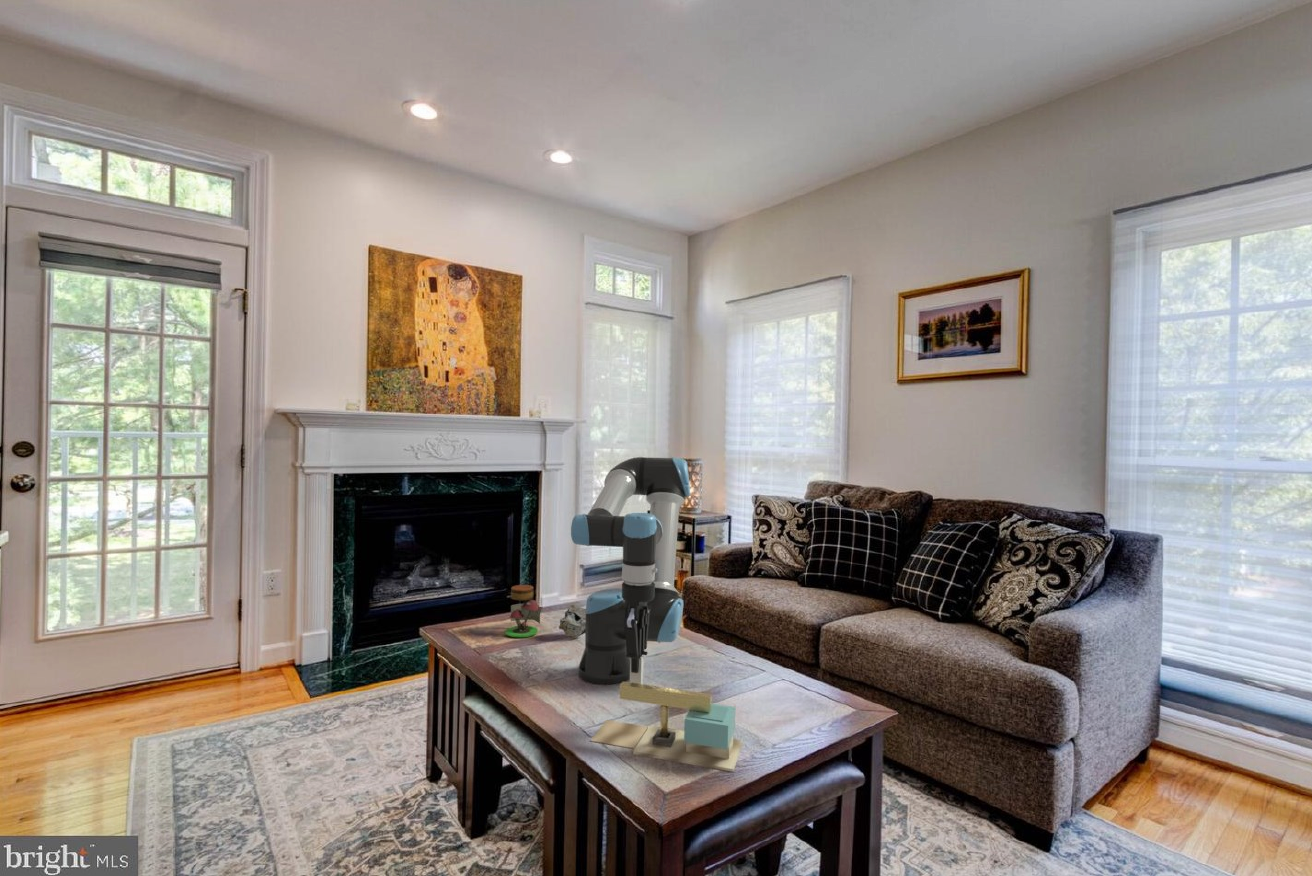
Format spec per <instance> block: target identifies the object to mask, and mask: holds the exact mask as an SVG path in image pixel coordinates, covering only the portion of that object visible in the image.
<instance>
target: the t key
mask: <svg viewBox="0 0 1312 876" xmlns="http://www.w3.org/2000/svg"><path fill="white" fill-rule="evenodd" d="M619 699H621V700H626V701H633V702H638V703H645V704H652V705H659V706H660V727H661V736H660V737H662V738H668V728H669V707H672V708H679V709H683V710H684V709H685V710H697V711H703V712H710V711H711V709H712V704H713V703H712V702H713V693H705V692H700V691H693V690H686V689H680V688H679V689H678V688H670V687H663V686H657V685H649V684H645V683H643V684H637V683H630V681H626V682H624V681H623V682H622V683H620V684H619Z"/></svg>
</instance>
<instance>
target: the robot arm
mask: <svg viewBox="0 0 1312 876" xmlns="http://www.w3.org/2000/svg"><path fill="white" fill-rule="evenodd" d="M689 475H690V474H689V467H688V462H687V461H686V459H684V458H674V457H643V456H639V457H632V458H629V459H626V460H624V461H622V462H620V463H618V464H616V465H615V466H613V467H612V469H610V471H608V473H607V474H606V477H605V478H604V482H603V487H602V490H601V492H600V493H599V495H598V497H597V498H596V500H595V501H594V503H593V505H592V507H591V508H590V510H589V512H588V513H587V514H586V513H583V514H576V515H574V516H573V518H572V521H571V525H570V536H571V540H572V542H573V544H575V545H579V546H587V547H589V546H590V547H594V546H595V547H613V548H614V547H616V548H617V547H618V548H622V563H621V565H622V567H621V569H622V570H621V580H622V581H623V582H622V583H621V587H620V588H618V587H617V588H606V589H601V590H597V591H595V592H592V593H591V594H590V595H589V596H588V597H587V598H586V603H585V604H586V605H585V606H586V607H585V609H586V611H585V614H586V629H585V633H584V634H585V636H584V638H585V641H584V642H585V643H584V650H583V652H582V656H581V659H580V662H579V664H578V671H577V675H578V678H579V680H580V681H583V682H584V683H586V684H587V683H588V684H590V685H595V686H612V685H613V686H615V685H620V684H621V683H622V682H623V681H624V682H630V683H637V684H644V656H648V652H649V651H647V648H648V642H654V643H655V642H656V643H659V644H660V643H672V642H675V641H676V640H677V638H678V635H679V632H680V629H681V624H682V619H683V613H684V612H683V610H684V600H683V599H682V598H680V597H679V594H680V593H679V591H678V590H677V589H676V588H675V576H676V575H675V574H676V572H675V571H676V560H677V558H676V557H677V546H678V545H677V542H678V529H679V512H680V508H681V506H683V505H684V504H685V502H686V500H685V499H686V498H688V497H690V496H691V487H690V478H689V477H690V476H689ZM632 496H645V499H646V502H647V503H648V504H649V506H650V507H649V509H650V510H649V512H648V513H647V512H631V513H627V514H626V515H624V516H623V515H622V516H621V513H622V511H623V509H624V507H625V505H626V503H627V500H628V499H629V498H631V497H632Z"/></svg>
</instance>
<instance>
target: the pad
mask: <svg viewBox="0 0 1312 876" xmlns="http://www.w3.org/2000/svg"><path fill="white" fill-rule="evenodd" d="M648 728H649V726H646V725H641V724H636V723H635V724H634V723H629V722H628V723H627V722H622V721H616V720H610V719H606V720H605V722H604V723H603V724H602V725H601V727H599V729H598V730H597V732H596V733H595V734H594V735H593V736H592V737H591V738H590V739H589V742H591V743H592V742H593V743H598V744H603V745H608V746H615V747H620V748H625V749H631V750H634V749H635V748H636V746H637V745H638V743H639V742H640V740H641V738H642V737H643V735H644V734H645V732H646V731H647V729H648Z"/></svg>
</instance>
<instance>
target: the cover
mask: <svg viewBox="0 0 1312 876" xmlns="http://www.w3.org/2000/svg"><path fill="white" fill-rule="evenodd" d="M688 710H689V711H688V712H687V714H686V716H685V718H684V725H683V726H684V730H683V731H684V742H686V743H692V744H697V745H703V746H709V747H715V748H721V749H727V750H728V747H729V744H730V741H731V739H732V736H733V737H734V733H735V730H736V706H731V705H725V704H719V703H718V704H717V703H712V709H711V711H710V712H703V711H697V710H690V709H688Z"/></svg>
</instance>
